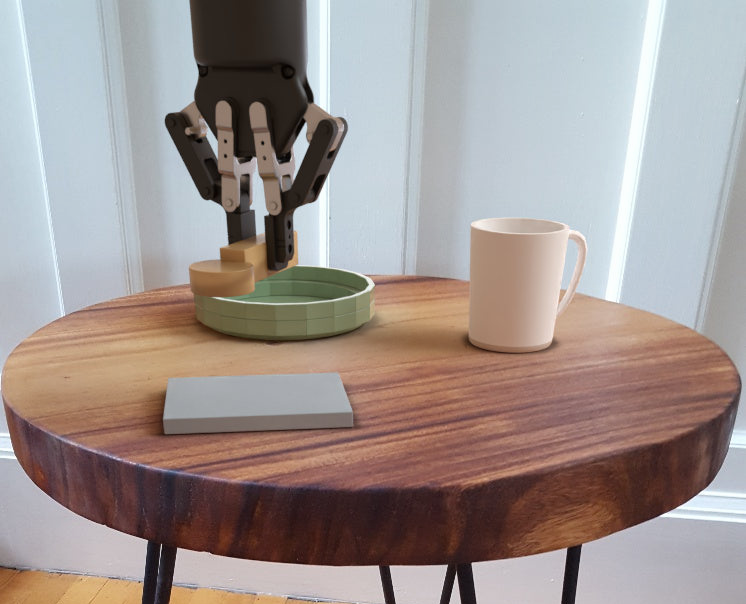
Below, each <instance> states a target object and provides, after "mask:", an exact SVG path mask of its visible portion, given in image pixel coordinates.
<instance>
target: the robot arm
mask: <svg viewBox="0 0 746 604" xmlns="http://www.w3.org/2000/svg"><path fill="white" fill-rule="evenodd" d="M188 1H189V12H190V26H191V38H192V51H193V58H194V60H195V63H196V67H197V72H198V73H197V75H198V76H197V82H196V85H195V87H194V92H193V99H194V100H193V101H192V102H190V103H189V104H188V105H186V106H185V107H184V108H183V109H181V110H180V111H176V112H174V111H173V112H169V113H167V114H166V115H165V117H164V126H165V128H166V130H167V133H168V134H169V136H170V139H171V140H172V142H173V144H174V146H175V148H176V150H177V152H178V154H179V156H180V158H181V160H182V162H183V164H184V167H185V168H186V170H187V172H188V174H189V176H190V178H191V180H192V181H193V185H194V186H195V188H196V190H197V192H198V193H199V196H200V198H202V199H203V200H204V201H211V202H213V203H214V204H215V203H216V204H217V205H219V206H220V207H222V209H223V210H224V213H225V216H226V217H225V218H226V219H225V220H226V232H227V242H228V243H227V245H230V244H233V243H236V242H239V241H242V240H245V239H248V238H250V237H253V236H256V235H257V225H256V209H251V206H252V204H253V201H254V174H255V172H256V170H257V172H258V176H259V177H260V179H261V180H262V185H263V194H264V201H265V208H266V211H267V212H268V214H265V215H263V223H264V233H265V242H266V249H267V266H268V269H269V270H270V271H280V270H282V269H285V268H287V266H288V262H289V261H290V260H292V259H293V256H294V231H295V230H294V229H295V228H294V214H295V211H296V210H297V209H299V208H301V207H304V206H305V205H308V204H313V203H315V202H316V201H317V200H318V199H319V197H320V194H321V192H322V190H323V189H324V185H325V183H326V181H327V179H328V176H329V174H330V172H331V169H332V168H333V165H334V163H335V161H336V158H337V156H338V154H339V152H340V149H341V147H342V145H343V143H344V140H345V138H346V136H347V133H348V131H349V125H348V122H347V119H345V118H344V117H342V116H337V117H336V116H332V115H331V114H330V113H328V112H327V111H326V110H325V109H323V108H322V107H320V106H319V105H317V104H316V103H315V95H314V91H313V90H312V87H311V85H310V82H309V80H308V79H309V78H308V73H307V72H308V62H309V46H308V45H309V44H308V42H309V41H308V10H307V8H308V7H307V6H308V5H307V3H308V2H307V0H188ZM305 125H306V127H307V128H306V132H305V139H306V142H307V143H308V147H307V149H306V151H305V153H304V156H303V158H302V160H301V162H300V163H301V164H300V165H299V168H298V170H297V165H296V154H295V145H294V144H295V143H296V141H297V139H298V137H299V136H300V134H301V132H302V130H303V128H304V126H305ZM209 130H210V132H211V133H212V135H213V137H214V138H215V140H216V141H217V155H216V153H215V152H214V149H213V147H212V145H211V143H210V141H209V139H208V137H207V135H208V132H209ZM296 171H297V173H296ZM295 174H296V175H295Z"/></svg>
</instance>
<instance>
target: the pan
mask: <svg viewBox="0 0 746 604" xmlns="http://www.w3.org/2000/svg"><path fill="white" fill-rule="evenodd" d="M193 300H194V302H193V303H194V311H195V312H194V313H195V319H196V320H198V322H200V323H201V324H202V325H204V326H207V327H209V328H210V329H212V330H214V331H215V332H218V333H220V334H225V335H227V336H232V337H238V338H245V339H251V340H263V341H299V340H301V341H302V340H312V339H322V338H328V337H333V336H337V335H342V334H345V333H349V332H351V331H354V330H357V329H358V328H360V327H361V326H362V325H364V324H365V323H367V322H370V321H371V320H372V319H373V317H374V315H375V311H376V310H375V306H376V303H375V302H376V301H375V300H376V284H375V283H374V281H373V279H372V278H371V277H369V276H366V275H364V274H362V273H360V272H357V271H352V270H348V269H343V268H339V267H338V268H336V267H330V266H321V265H307V264H306V265H304V264H298V265H296V266H293V267H291V268H289V269H286V270H284V271H281V272H279V273H277V274H274V275H272V276H270V277H267V278H265V279H263V280H260V281H258V282H256V283H255V290H254V291H253V292H252V293H249V294H246V295H242V296H235V297H206V296H200V295H196V294H194V293H193Z"/></svg>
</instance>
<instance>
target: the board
mask: <svg viewBox="0 0 746 604" xmlns="http://www.w3.org/2000/svg"><path fill="white" fill-rule="evenodd" d="M165 392H166V393H165V400H164V407H163V415H162V422H163V423H162V425H163V432H164V435H186V434H188V435H189V434H209V433H211V434H212V433H213V434H214V433H234V432H261V431H263V432H264V431H285V430H286V431H287V430H288V431H289V430H313V429H336V428H337V429H338V428H354V411H353V407H352V405H351V403H350V400H349V397H348V395H347V392H346V389H345V386H344V384H343V380H342V378H341V376H340V373H339V372H337V371H335V372H309V373H308V372H307V373H305V372H304V373H278V374H277V373H275V374H274V373H273V374H247V375H246V374H245V375H218V376H217V375H216V376H213V375H211V376H185V377H184V376H183V377H181V376H180V377H168V378H167V383H166V391H165Z"/></svg>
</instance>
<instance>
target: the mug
mask: <svg viewBox="0 0 746 604" xmlns="http://www.w3.org/2000/svg"><path fill="white" fill-rule="evenodd" d="M469 233H470V236H469V237H470V241H469V243H470V244H469V290H468V291H469V292H468V293H469V295H468V340H469V342H470V343H471V344H472V345H473V346H475V347H477V348H480V349H483V350H487V351H492V352H498V353H499V352H500V353H512V354H513V353H514V354H515V353H517V354H518V353H519V354H522V353H532V352H533V353H534V352H538V351H542V350H545V349H547V348H549V347H550V345H551V344H552V342H553V338H554V331H555V325H556V319H558V318H559V317H560V316H561V315H562V314H563V313H564V312H565V311H566V310H567V308H568V307H569V304H570V303H571V301H572V300H573V298H574V296H575V294H576V291H577V289H578V287H579V284H580V282H581V278H582V277H583V272H584V269H585V267H586V262H587V258H588V257H587V255H588V251H589V250H588V245H587V240H586V239H587V238H586V237H585V236H584V235H583V234H582V233H581V232H580V231H579V230H578V231H577V230H574V229H571V227H570V226H569V225H568V224H566V223H564V222H560V221H557V220H549V219H543V218H535V217H534V218H532V217H492V218H491V217H490V218H483V219H478V220H474V221H473V222H471V223H470V231H469ZM569 240H571V241H573V242H574V243H575V244H576V246H577V258H576V263H575V266H574V270H573V273H572V276H571V280H570V281H569V284H568V287H567V289H566V291H565V294H564V295H563V297H562V299H561V300H560V302H559V298H560V294H561V288H562V281H563V276H564V269H565V262H566V257H567V250H568V242H569Z"/></svg>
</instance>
